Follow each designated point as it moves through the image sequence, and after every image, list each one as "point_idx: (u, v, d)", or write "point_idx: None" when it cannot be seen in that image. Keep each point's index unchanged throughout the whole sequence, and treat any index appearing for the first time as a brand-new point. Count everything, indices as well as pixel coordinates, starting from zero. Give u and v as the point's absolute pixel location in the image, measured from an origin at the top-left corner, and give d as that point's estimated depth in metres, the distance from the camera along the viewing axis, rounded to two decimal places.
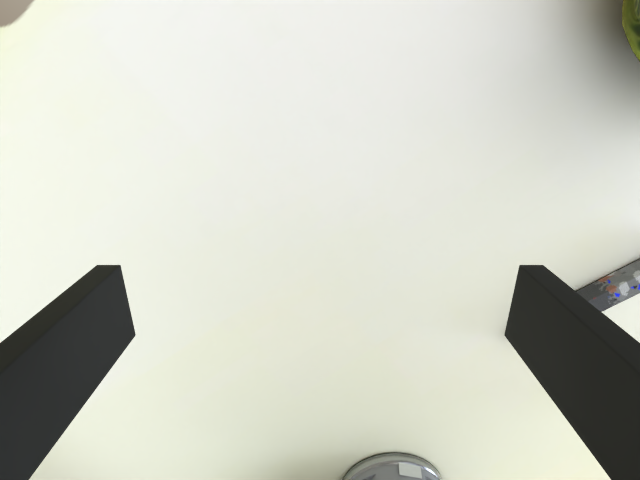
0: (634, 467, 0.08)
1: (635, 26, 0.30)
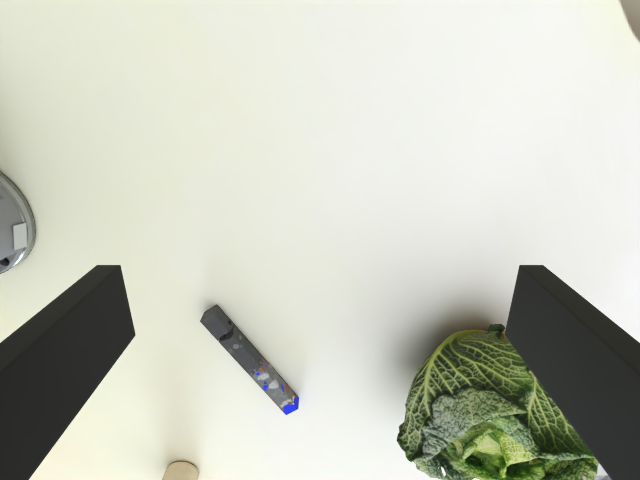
0: (634, 466, 0.08)
1: (456, 340, 0.48)
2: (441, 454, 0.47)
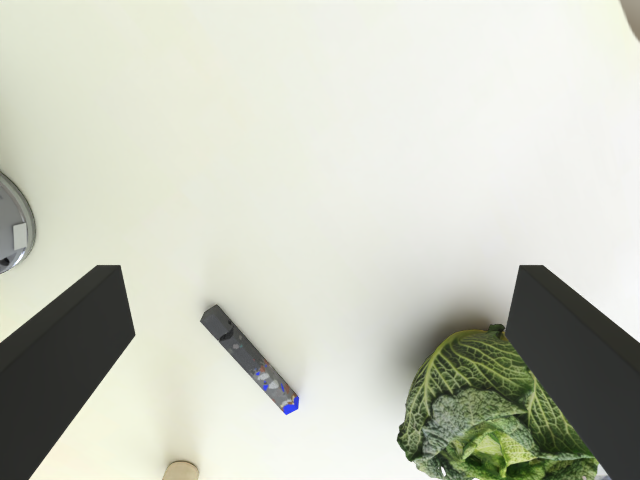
0: (634, 466, 0.08)
1: (456, 340, 0.48)
2: (441, 454, 0.47)
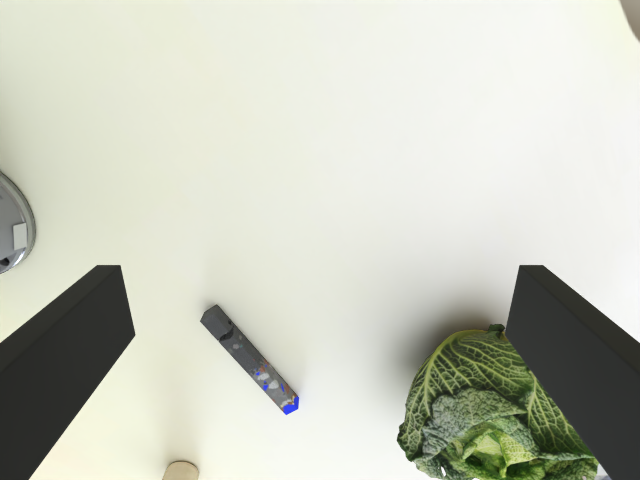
0: (634, 466, 0.08)
1: (456, 340, 0.48)
2: (441, 454, 0.47)
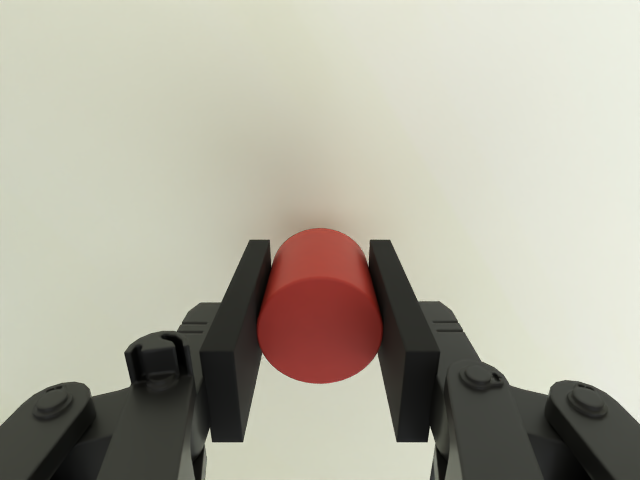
0: (392, 388, 0.10)
1: None
2: None
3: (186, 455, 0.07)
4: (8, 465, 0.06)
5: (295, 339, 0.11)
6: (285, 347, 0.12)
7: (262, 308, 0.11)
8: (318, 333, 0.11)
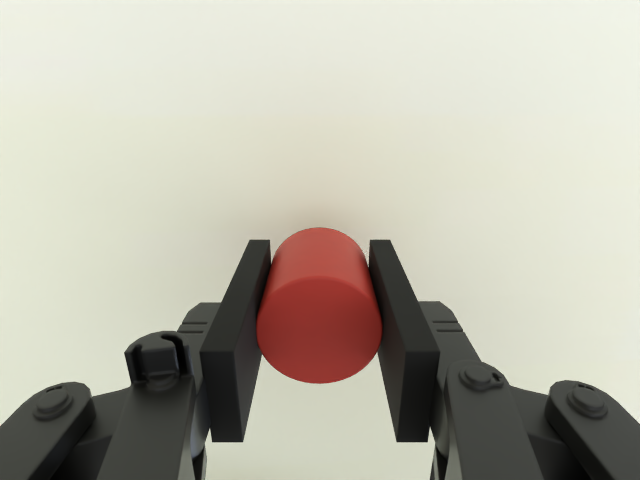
0: (392, 388, 0.10)
1: None
2: None
3: (186, 455, 0.07)
4: (8, 465, 0.06)
5: (294, 338, 0.11)
6: (284, 347, 0.11)
7: (261, 308, 0.11)
8: (317, 332, 0.11)
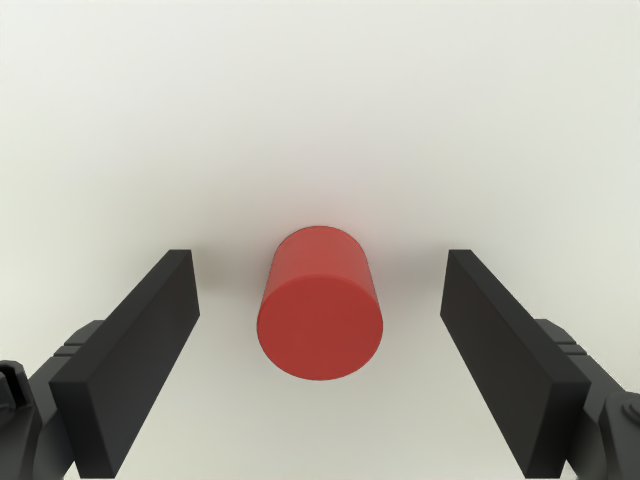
0: (513, 417, 0.09)
1: None
2: None
3: None
4: None
5: (295, 336, 0.11)
6: (285, 344, 0.12)
7: (262, 306, 0.11)
8: (318, 330, 0.11)
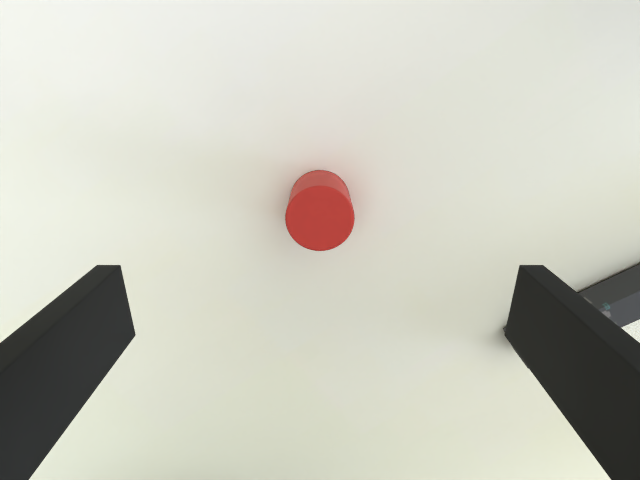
0: (634, 466, 0.08)
1: None
2: None
3: None
4: None
5: (306, 222, 0.21)
6: (301, 227, 0.21)
7: (289, 204, 0.21)
8: (319, 219, 0.21)
